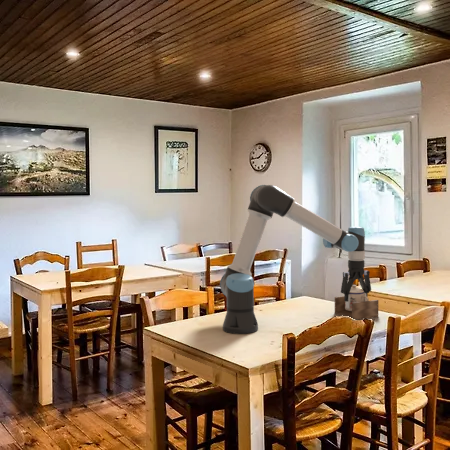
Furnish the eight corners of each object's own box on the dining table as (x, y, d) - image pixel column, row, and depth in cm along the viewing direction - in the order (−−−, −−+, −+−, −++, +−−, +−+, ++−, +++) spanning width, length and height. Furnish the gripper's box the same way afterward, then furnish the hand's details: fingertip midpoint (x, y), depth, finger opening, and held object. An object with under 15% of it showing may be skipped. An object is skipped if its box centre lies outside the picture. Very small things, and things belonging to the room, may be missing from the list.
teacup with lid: (340, 309, 255) (340, 285, 254) (350, 306, 262) (350, 282, 261) (363, 313, 247) (363, 288, 246) (373, 310, 253) (373, 285, 253)
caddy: (353, 320, 245) (353, 303, 244) (334, 313, 259) (334, 297, 258) (378, 317, 250) (378, 300, 250) (358, 310, 264) (358, 294, 263)
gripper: (369, 257, 260) (369, 303, 262) (332, 260, 252) (332, 307, 254) (379, 259, 253) (379, 306, 255) (342, 261, 245) (341, 310, 247)
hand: (356, 307), depth 254 cm, fingers closed on teacup with lid, 8 cm apart
